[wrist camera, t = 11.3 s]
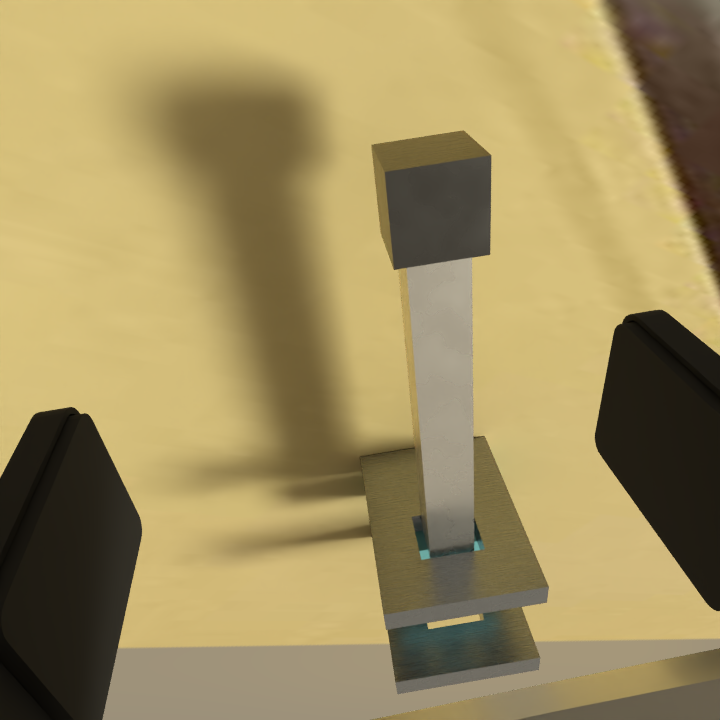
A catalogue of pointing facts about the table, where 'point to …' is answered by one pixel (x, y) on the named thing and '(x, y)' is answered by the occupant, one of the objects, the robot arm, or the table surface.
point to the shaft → (438, 311)
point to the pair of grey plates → (452, 579)
